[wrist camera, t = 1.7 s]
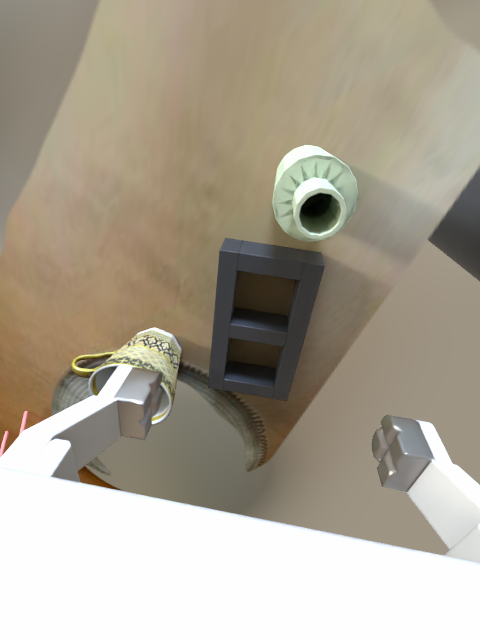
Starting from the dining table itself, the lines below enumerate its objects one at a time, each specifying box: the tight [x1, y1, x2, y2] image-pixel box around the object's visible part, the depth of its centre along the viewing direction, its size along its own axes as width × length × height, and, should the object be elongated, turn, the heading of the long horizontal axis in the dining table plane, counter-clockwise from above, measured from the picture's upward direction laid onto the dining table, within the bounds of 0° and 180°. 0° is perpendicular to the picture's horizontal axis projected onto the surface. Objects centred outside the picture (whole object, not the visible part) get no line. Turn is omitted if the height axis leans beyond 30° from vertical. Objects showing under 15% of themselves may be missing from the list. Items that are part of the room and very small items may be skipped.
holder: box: [208, 238, 324, 401], centre depth 39 cm, size 11×20×4 cm, turn 173°
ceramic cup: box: [71, 328, 181, 425], centre depth 41 cm, size 13×10×10 cm
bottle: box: [272, 145, 358, 242], centre depth 25 cm, size 6×6×15 cm
